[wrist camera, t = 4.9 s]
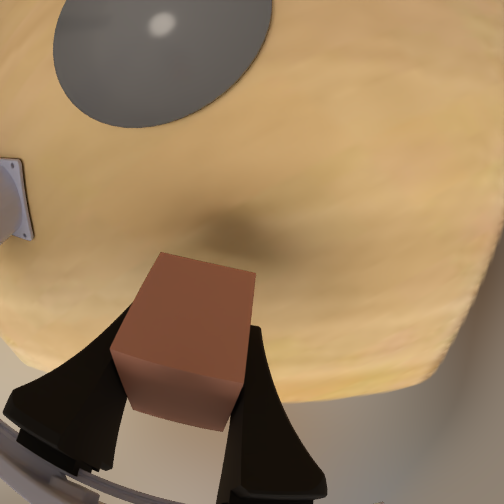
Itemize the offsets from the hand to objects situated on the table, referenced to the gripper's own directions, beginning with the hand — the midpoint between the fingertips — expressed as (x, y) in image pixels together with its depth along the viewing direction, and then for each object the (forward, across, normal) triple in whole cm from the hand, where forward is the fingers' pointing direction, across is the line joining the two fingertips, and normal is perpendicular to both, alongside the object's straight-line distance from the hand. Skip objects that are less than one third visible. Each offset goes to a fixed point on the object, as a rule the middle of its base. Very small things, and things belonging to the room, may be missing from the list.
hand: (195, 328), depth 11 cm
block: (+1, 0, 0) cm, 1 cm away
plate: (+8, +7, -13) cm, 17 cm away
